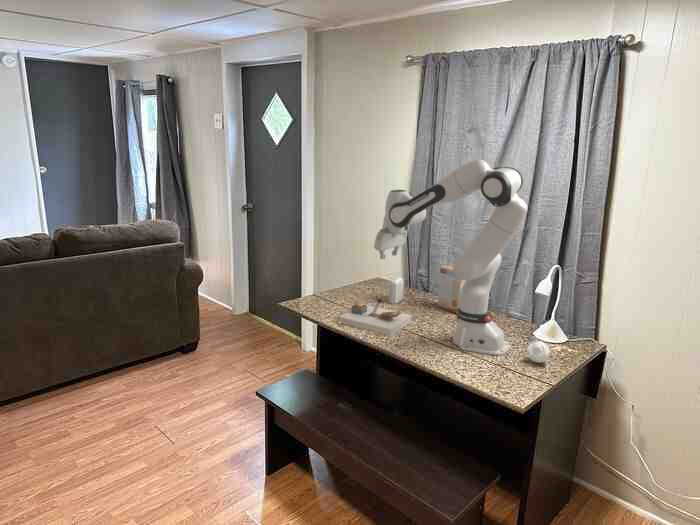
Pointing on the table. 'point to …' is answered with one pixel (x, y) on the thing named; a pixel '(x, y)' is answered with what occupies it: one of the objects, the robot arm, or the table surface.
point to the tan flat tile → (389, 314)
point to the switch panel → (374, 320)
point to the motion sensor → (538, 352)
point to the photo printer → (396, 290)
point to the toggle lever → (377, 306)
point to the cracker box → (449, 289)
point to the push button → (359, 304)
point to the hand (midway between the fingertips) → (388, 256)
